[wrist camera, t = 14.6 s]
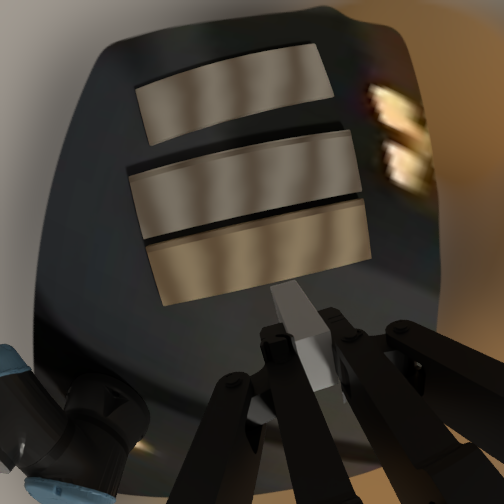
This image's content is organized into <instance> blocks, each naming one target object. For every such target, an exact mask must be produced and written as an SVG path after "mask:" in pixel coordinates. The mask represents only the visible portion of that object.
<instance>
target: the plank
mask: <svg viewBox="0 0 504 504" xmlns="http://www.w3.org/2000/svg"><path fill="white" fill-rule="evenodd" d="M136 94H137V99H138V103H139V107H140V111H141V115H142V118H143V122H144V126H145V130H146V134H147V137H148V141H149V145H150V146H152V145H155V144H158V143H161V142H163V141H166V140H169V139H172V138H175V137H178V136H181V135H184V134H187V133H190V132H193V131H196V130H199V129H202V128H205V127H209V126H212V125H215V124H219V123H222V122H225V121H229V120H233V119H236V118H240V117H244V116H247V115H251V114H255V113H259V112H263V111H267V110H272V109H276V108H280V107H285V106H290V105H294V104H299V103H304V102H309V101H315V100H320V99H326V98H332V97H333V96H334V94H333V91H332V88H331V85H330V82H329V79H328V77H327V74H326V71H325V68H324V66H323V63H322V61H321V58H320V55H319V53H318V50H317V48H316V45H315V44H307V45H300V46H293V47H287V48H280V49H275V50H269V51H264V52H259V53H254V54H249V55H245V56H240V57H236V58H232V59H228V60H224V61H220V62H216V63H213V64H209V65H206V66H202V67H199V68H195V69H192V70H189V71H186V72H183V73H179V74H176V75H173V76H171V77H168V78H165V79H162V80H159V81H156V82H154V83H151V84H148V85H146V86H143V87H141V88H138V89H136Z"/></svg>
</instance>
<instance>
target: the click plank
mask: <svg viewBox="0 0 504 504" xmlns="http://www.w3.org/2000/svg"><path fill="white" fill-rule="evenodd" d="M129 182H130V186H131V190H132V195H133V199H134V203H135V207H136V211H137V216H138V220H139V224H140V227H141V231H142V235H143V239H147V238H151V237H155V236H158V235H162V234H166V233H171V232H175V231H179V230H183V229H187V228H191V227H195V226H199V225H204V224H208V223H212V222H216V221H221V220H225V219H229V218H234V217H238V216H243V215H247V214H252V213H256V212H261V211H265V210H270V209H275V208H280V207H284V206H289V205H294V204H299V203H304V202H308V201H313V200H318V199H323V198H328V197H334V196H339V195H344V194H349V193H355V192H360V191H362V188H361V182H360V177H359V171H358V166H357V161H356V156H355V151H354V146H353V142H352V137H351V132H350V130H343V131H335V132H328V133H320V134H313V135H307V136H300V137H294V138H288V139H282V140H277V141H271V142H266V143H261V144H256V145H250V146H246V147H241V148H236V149H231V150H227V151H222V152H218V153H214V154H209V155H205V156H201V157H197V158H193V159H189V160H185V161H181V162H178V163H174V164H170V165H167V166H163V167H159V168H156V169H152V170H149V171H146V172H142V173H139V174H136V175H132V176H129Z"/></svg>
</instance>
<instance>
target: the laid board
mask: <svg viewBox="0 0 504 504" xmlns="http://www.w3.org/2000/svg"><path fill="white" fill-rule="evenodd" d="M146 251H147V253H148V257H149V261H150V264H151V267H152V271H153V274H154V278H155V281H156V284H157V287H158V291H159V294H160V297H161V300H162V303H163V306H166V305H171V304H176V303H181V302H186V301H191V300H196V299H200V298H205V297H210V296H215V295H219V294H224V293H229V292H233V291H238V290H242V289H247V288H251V287H256V286H260V285H264V284H269V283H273V282H277V281H282V280H286V279H290V278H294V277H299V276H303V275H307V274H311V273H315V272H319V271H323V270H328V269H332V268H336V267H340V266H344V265H348V264H351V263H355V262H359V261H363V260H367V259H371V251H370V242H369V234H368V227H367V219H366V213H365V206H364V199H361V198H359V199H354V200H348V201H343V202H338V203H333V204H328V205H323V206H319V207H314V208H309V209H304V210H299V211H295V212H290V213H285V214H280V215H276V216H271V217H267V218H262V219H257V220H253V221H248V222H244V223H239V224H235V225H231V226H226V227H222V228H218V229H213V230H209V231H205V232H200V233H196V234H192V235H188V236H184V237H179V238H175V239H171V240H167V241H163V242H159V243H155V244H151V245H148V246H146Z"/></svg>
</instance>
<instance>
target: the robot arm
mask: <svg viewBox="0 0 504 504" xmlns="http://www.w3.org/2000/svg"><path fill="white" fill-rule="evenodd" d="M270 289H271V292H272V296H273V300H274V304H275V308H276V312H277V316H278V320H279V323H278V324H274V325H271V326H267V327H263V328H262V330H261V332H260V337H261V344H260V348H261V351H262V354H263V358H264V361H265V365H264V367H263V368H262V369H261V370H260V371H259V372H257V373H255V374H254V375H252V376H249V375H248V374H247V373H244V372H233V373H229V374H227V375H225V376H223V377H222V378H221V379H219V381H218V382H217V384H216V386H215V389H214V391H213V394H212V396H211V398H210V401H209V403H208V406H207V408H206V411H205V413H204V415H203V418H202V420H201V423H200V425H199V427H198V430H197V432H196V435H195V437H194V439H193V442H192V444H191V446H190V449H189V451H188V454H187V456H186V458H185V461H184V463H183V465H182V468H181V470H180V472H179V475H178V477H177V479H176V482H175V484H174V486H173V489H172V491H171V493H170V496H169V498H168V500H167V503H166V504H252V500H253V495H254V490H255V485H256V480H257V475H258V470H259V465H260V460H261V454H262V449H263V444H264V438H265V433H266V422H268V421H270V420H272V419H274V418H276V417H277V420H278V424H279V429H280V433H281V438H282V442H283V447H284V451H285V456H286V460H287V464H288V469H289V473H290V478H291V482H292V486H293V491H294V494H295V499H296V504H363V502H362V500H361V499H360V497H358V496H357V495H356V494H355V492H354V489H353V487H352V485H351V482H350V479H349V477H348V475H347V472H346V470H345V467H344V465H343V462H342V460H341V457H340V455H339V453H338V450H337V448H336V445H335V443H334V440H333V438H332V435H331V433H330V431H329V428H328V426H327V423H326V421H325V418H324V416H323V414H322V411H321V409H320V406H319V404H318V401H317V399H316V397H315V394H314V391H317V390H320V389H323V388H326V387H330V386H333V385H336V384H338V377H339V379H340V381H341V388H342V395H343V402H344V403H345V402H346V399H347V401H348V403H349V404H350V406H351V408H352V410H353V412H354V414H355V416H356V418H357V420H358V421H359V423H360V425H361V427H362V429H363V431H364V433H365V435H366V437H367V439H368V441H369V442H370V444H371V446H372V448H373V450H374V452H375V454H376V456H377V458H378V460H379V462H380V464H381V466H382V467H383V469H384V471H385V473H386V475H387V477H388V479H389V481H390V483H391V485H392V487H393V489H394V491H395V493H396V495H397V497H398V499H399V501H400V503H401V504H504V478H503V476H502V475H501V474H500V473H499V471H498V470H497V469H496V468H495V467H494V465H493V464H492V463H491V462H490V461H489V459H488V458H487V457H486V456H485V455H484V453H483V452H482V451H481V450H480V449H479V448H481V449H482V450H484V451H485V452H486V453H488V454H489V455H491V456H492V457H494V458H496V459H497V460H499V461H500V462H501V463H503V464H504V363H502V362H500V361H498V360H496V359H494V358H491V357H489V356H487V355H485V354H483V353H480V352H478V351H476V350H474V349H472V348H469V347H467V346H465V345H463V344H461V343H459V342H457V341H454V340H452V339H450V338H448V337H446V336H443V335H441V334H439V333H437V332H435V331H432V330H430V329H428V328H426V327H424V326H421V325H419V324H417V323H415V322H413V321H409V320H399V321H395V322H392V323H390V324H389V325H388V326H387V327H386V329H385V331H386V334H382V335H376V336H368V334H367V333H366V332H365V331H363V330H361V329H354V327H353V326H352V325H351V324H350V323H349V322H348V320H347V319H345V317H344V316H343V315H342V313H341V312H340V311H339V310H338V309H335V308H333V307H330V308H326V309H323V310H320V311H316V309H315V308H314V306H313V305H312V303H311V302H310V300H309V299H308V297H307V296H306V295H305V293H304V292H303V290H302V289H301V287H300V286H299V284H298V283H297V282H296V280H292V281H289V282H285V283H282V284H278V285H274V286H271V287H270ZM417 362H418V363H420V364H421V365H422V367H419V366H418V365H417ZM31 370H32V369H31V368H30V367H29V366H27V364H26V363H25V362H24V361H23V359H22V358H21V357H20V355H19V354H18V353H17V351H16V350H15V349H14V348H13V347H12V346H10V345H7V344H0V473H6V474H9V473H10V472H11V471H12V469H13V468H14V467H15V465H16V466H17V467H18V468H19V469H20V470H21V471H22V472H23V473H24V474H25V475H26V476H27V478H25V480H24V481H25V489H26V490H27V491H28V492H29V494H30V495H31V496H32V497H33V498H34V499H36V500H37V501H38V502H40V503H41V504H114V503H115V502H116V495H117V492H118V488H119V485H120V481H121V477H122V474H123V471H124V467H125V464H126V460H127V457H128V454H129V452H130V451H131V450H132V449H133V448H134V447H135V445H136V443H137V442H139V441H140V440H141V439H142V438H143V437H144V436H145V434H146V432H147V430H148V426H149V423H150V414H149V410H148V408H147V405H146V404H145V402H144V401H143V399H142V398H141V397H140V396H139V395H138V393H137V392H135V391H134V390H133V389H132V388H131V387H130V386H128V385H127V384H125V383H124V382H122V381H120V380H118V379H116V378H114V377H111V376H108V375H105V374H101V373H86V374H82V375H80V376H78V377H77V378H76V379H75V380H74V381H73V383H72V384H71V385H70V387H69V389H68V391H67V394H66V404H65V408H64V411H63V410H62V408H61V407H60V406H59V405H58V404H57V403H56V401H55V400H54V399H53V398H52V397H51V396H50V394H49V393H48V392H47V391H46V389H45V388H44V387H43V385H42V384H41V383H40V382H39V380H38V379H37V378H36V376H35V375H34V373H33V372H32V371H31ZM337 375H338V377H337ZM444 424H446V425H447V426H448V427H450V428H451V429H453V430H454V431H456V432H457V433H459V434H460V435H462V436H463V437H465V438H466V439H467V440H469V441H470V442H468V443H465V444H461V443H459V442H458V441H457V439H456V438H455V437H454V436H453V434H452V433H451V432H450V431H449V430H448V428H447V427H446V426H445V425H444ZM471 442H472V443H471ZM477 446H478V447H477Z"/></svg>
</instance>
